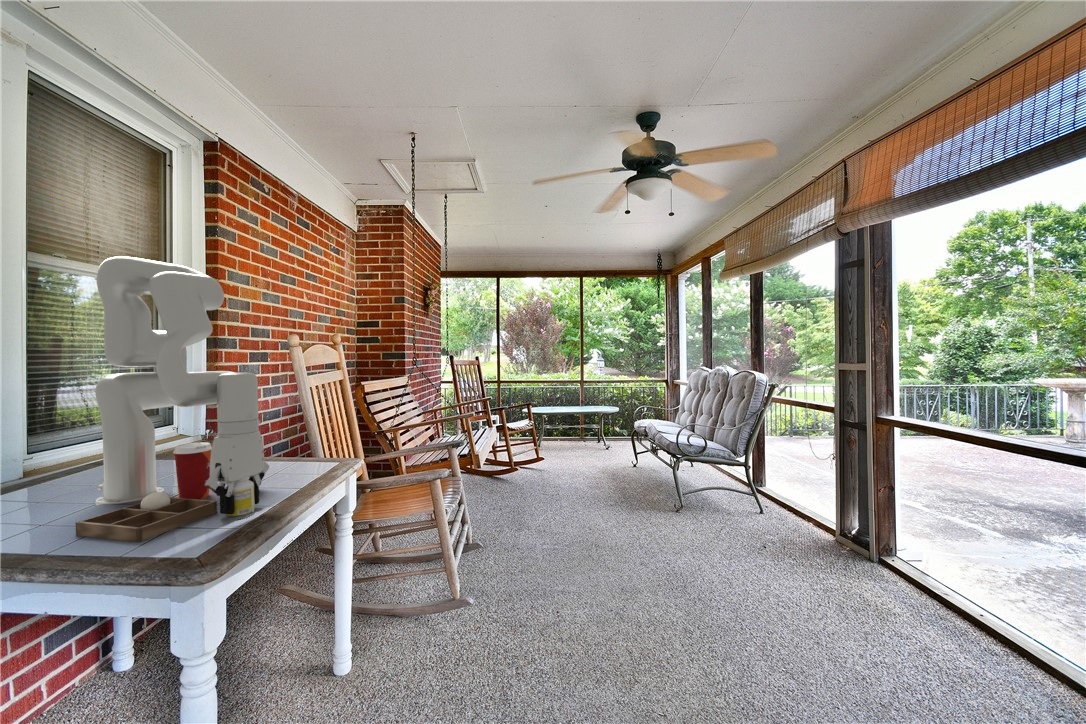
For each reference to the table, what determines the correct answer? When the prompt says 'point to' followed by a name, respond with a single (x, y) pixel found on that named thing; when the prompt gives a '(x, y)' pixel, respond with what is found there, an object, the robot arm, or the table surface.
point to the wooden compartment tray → (145, 520)
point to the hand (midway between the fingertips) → (240, 507)
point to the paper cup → (193, 469)
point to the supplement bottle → (243, 498)
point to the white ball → (155, 501)
